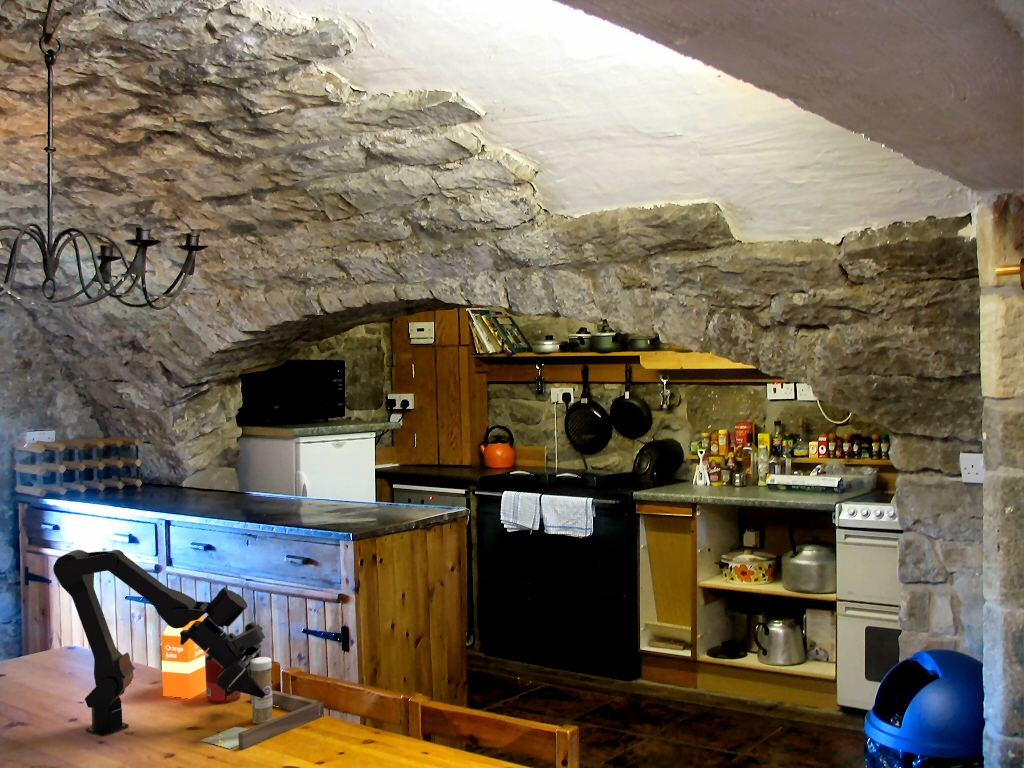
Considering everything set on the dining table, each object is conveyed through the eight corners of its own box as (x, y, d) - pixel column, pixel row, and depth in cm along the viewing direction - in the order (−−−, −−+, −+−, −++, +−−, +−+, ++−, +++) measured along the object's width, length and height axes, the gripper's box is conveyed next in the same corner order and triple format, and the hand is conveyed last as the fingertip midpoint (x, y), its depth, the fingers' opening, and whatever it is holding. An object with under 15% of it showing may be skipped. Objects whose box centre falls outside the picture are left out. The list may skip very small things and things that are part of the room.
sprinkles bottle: (263, 726, 204) (261, 663, 204) (247, 722, 206) (245, 661, 206) (278, 719, 208) (275, 657, 208) (262, 716, 210) (260, 655, 210)
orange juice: (162, 696, 226) (159, 612, 226) (186, 684, 234) (183, 603, 234) (190, 699, 224) (187, 614, 224) (213, 687, 232) (210, 605, 232)
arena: (168, 731, 203) (167, 717, 203) (255, 699, 222) (255, 686, 222) (237, 752, 190) (237, 737, 190) (323, 715, 209) (323, 702, 209)
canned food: (231, 704, 218) (229, 657, 218) (199, 703, 220) (198, 656, 220) (247, 693, 226) (245, 647, 226) (216, 692, 228) (214, 646, 228)
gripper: (230, 625, 197) (285, 675, 198) (250, 604, 216) (300, 650, 217) (193, 665, 197) (248, 715, 198) (216, 641, 216) (267, 687, 216)
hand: (268, 690), depth 207 cm, fingers open, 8 cm apart
